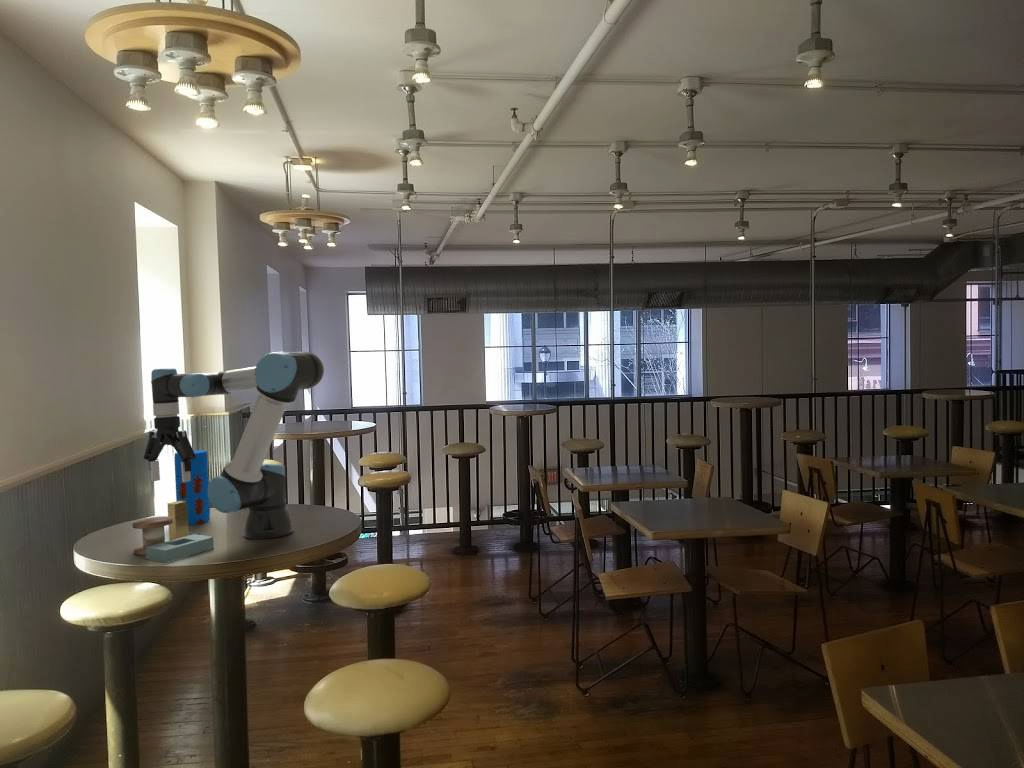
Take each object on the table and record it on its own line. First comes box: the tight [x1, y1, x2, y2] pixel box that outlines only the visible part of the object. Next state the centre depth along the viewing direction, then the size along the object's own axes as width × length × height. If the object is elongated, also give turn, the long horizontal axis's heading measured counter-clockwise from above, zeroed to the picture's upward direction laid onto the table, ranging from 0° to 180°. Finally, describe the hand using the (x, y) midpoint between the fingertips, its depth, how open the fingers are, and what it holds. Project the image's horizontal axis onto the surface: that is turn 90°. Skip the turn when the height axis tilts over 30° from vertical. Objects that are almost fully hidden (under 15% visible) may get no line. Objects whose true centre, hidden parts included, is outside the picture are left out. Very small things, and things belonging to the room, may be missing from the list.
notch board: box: [145, 533, 215, 563], centre depth 209 cm, size 16×9×4 cm, turn 151°
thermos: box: [174, 449, 211, 526], centre depth 251 cm, size 11×11×25 cm
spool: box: [131, 515, 173, 557], centre depth 213 cm, size 11×11×9 cm
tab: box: [167, 501, 190, 541], centre depth 226 cm, size 4×4×12 cm
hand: (170, 481), depth 228 cm, fingers open, 13 cm apart
